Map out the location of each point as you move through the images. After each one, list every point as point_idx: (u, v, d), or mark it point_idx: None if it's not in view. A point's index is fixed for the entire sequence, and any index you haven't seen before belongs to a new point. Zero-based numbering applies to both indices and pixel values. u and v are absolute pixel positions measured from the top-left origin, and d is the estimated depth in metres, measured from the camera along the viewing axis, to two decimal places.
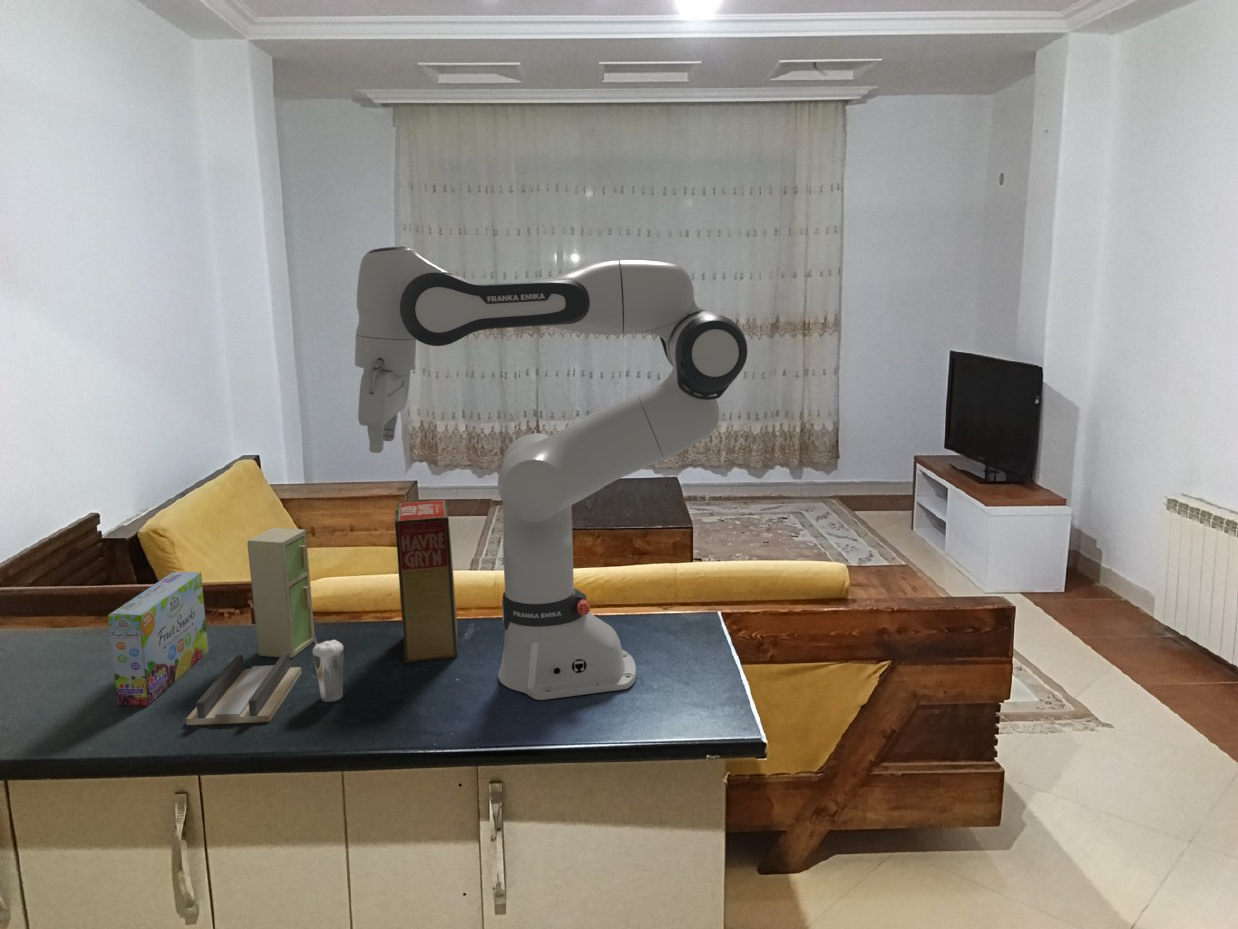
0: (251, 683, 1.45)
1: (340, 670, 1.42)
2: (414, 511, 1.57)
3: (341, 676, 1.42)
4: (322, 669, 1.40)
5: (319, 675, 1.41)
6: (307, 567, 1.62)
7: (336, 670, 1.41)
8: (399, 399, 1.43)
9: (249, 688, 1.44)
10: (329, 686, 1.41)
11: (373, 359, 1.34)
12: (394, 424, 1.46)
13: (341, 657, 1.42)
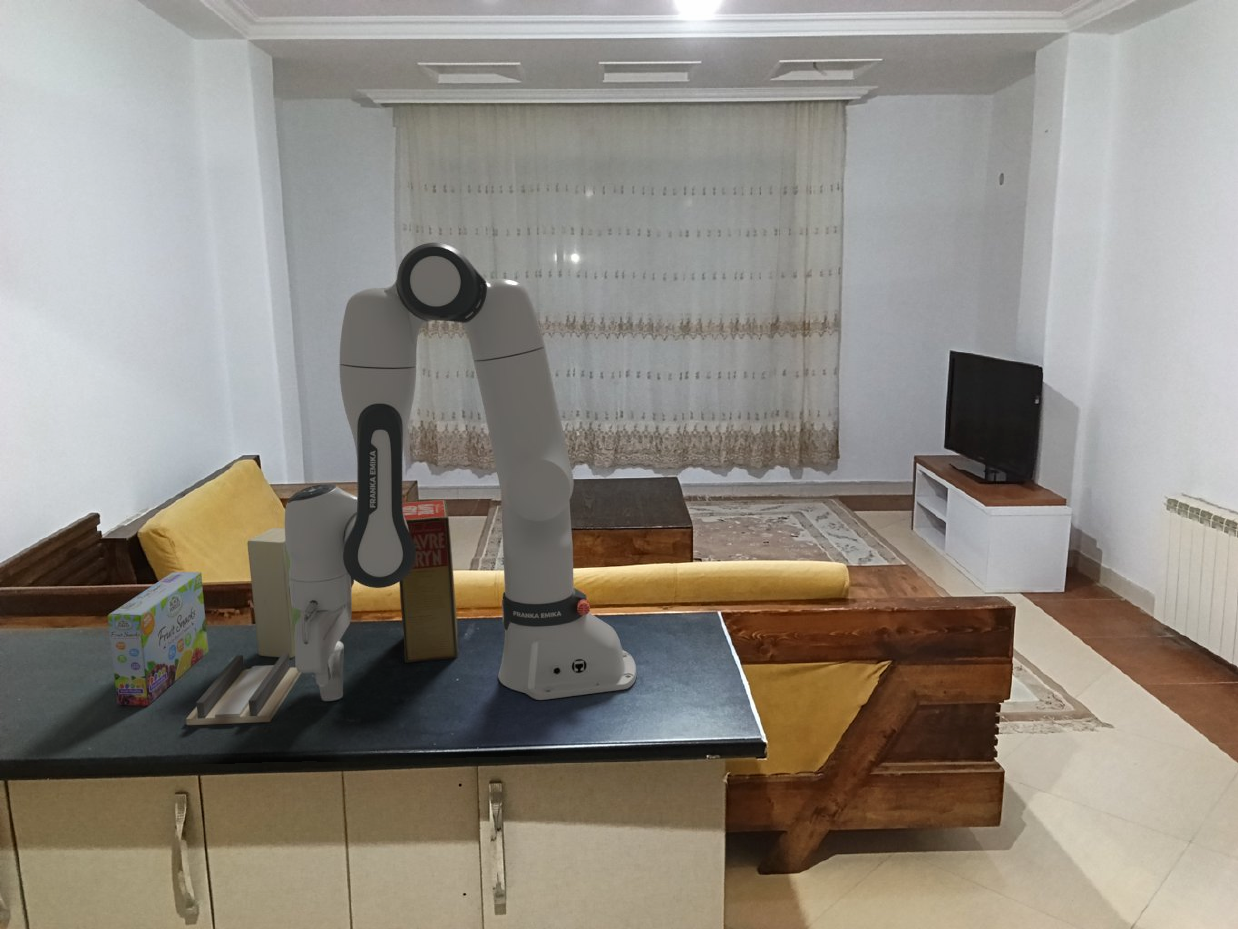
0: (251, 683, 1.45)
1: (340, 669, 1.42)
2: (414, 511, 1.57)
3: (341, 675, 1.43)
4: None
5: None
6: None
7: (337, 669, 1.41)
8: (341, 625, 1.44)
9: (249, 688, 1.44)
10: (329, 685, 1.41)
11: (307, 602, 1.36)
12: None
13: (341, 656, 1.42)
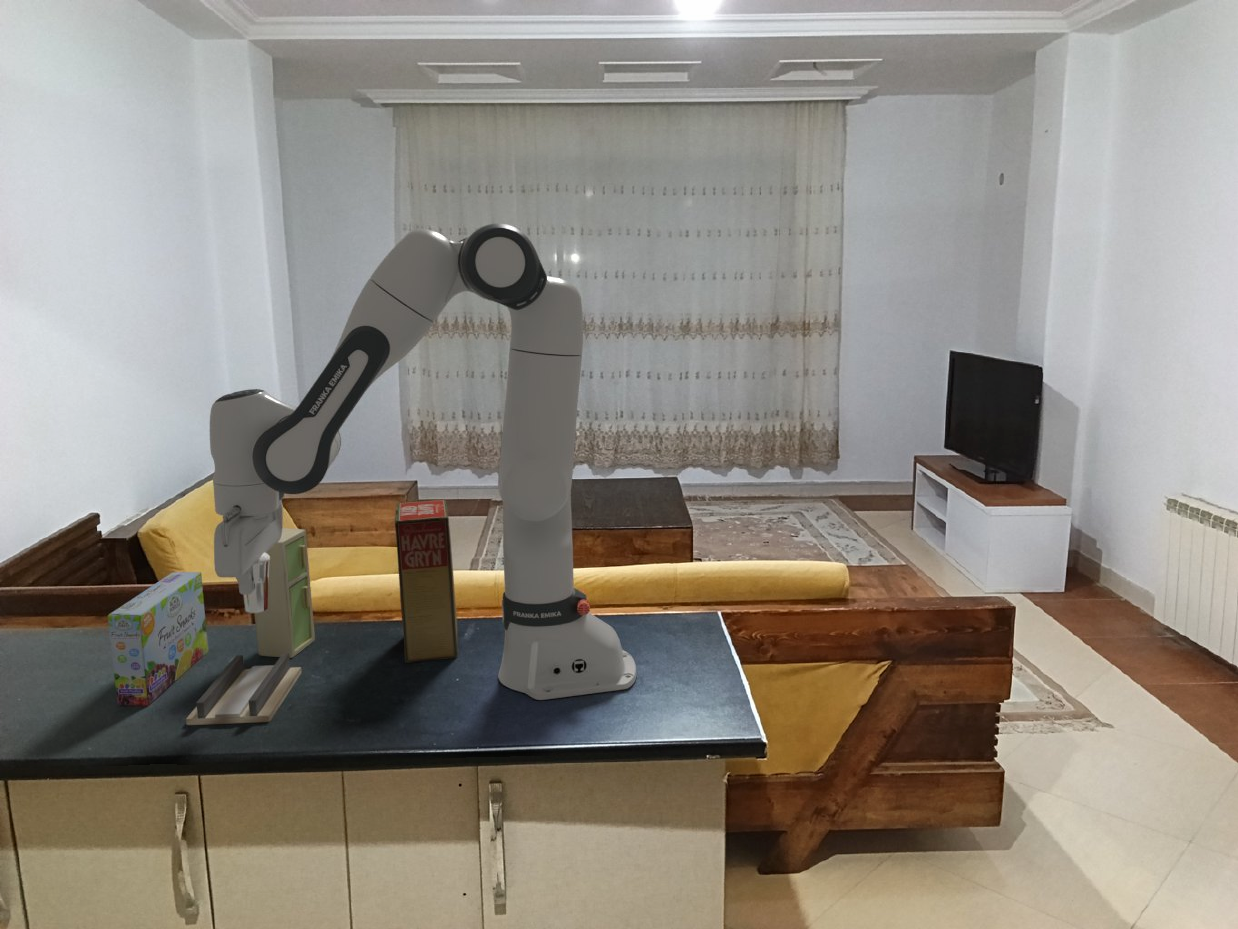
0: (251, 683, 1.45)
1: (265, 581, 1.39)
2: (414, 511, 1.57)
3: (266, 587, 1.40)
4: None
5: None
6: (307, 567, 1.62)
7: (261, 580, 1.38)
8: (268, 537, 1.41)
9: (249, 688, 1.44)
10: (253, 596, 1.38)
11: (230, 507, 1.33)
12: None
13: (267, 567, 1.39)
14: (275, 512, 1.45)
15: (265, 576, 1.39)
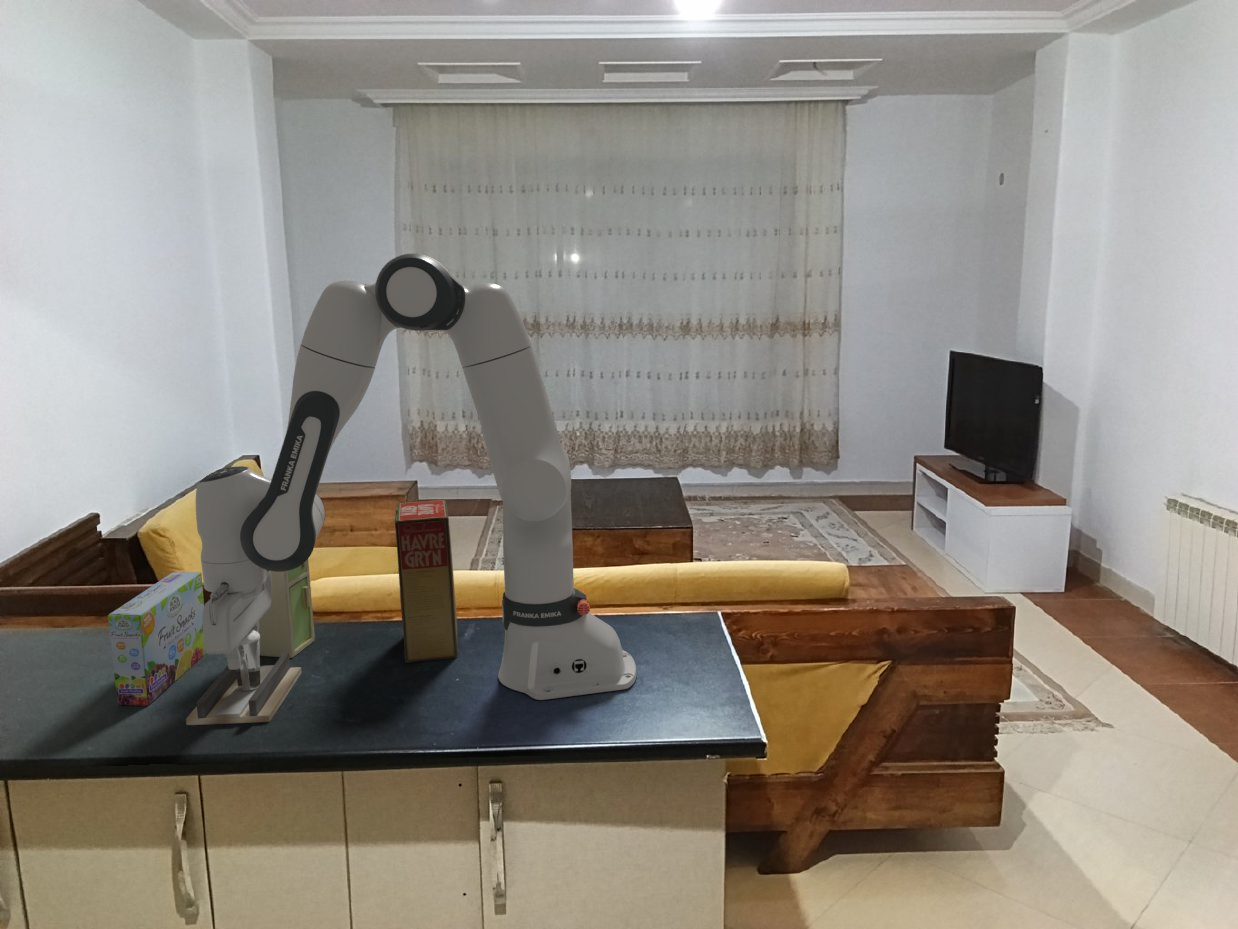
0: None
1: (257, 659, 1.43)
2: (414, 511, 1.57)
3: (258, 665, 1.43)
4: None
5: None
6: (307, 567, 1.62)
7: (253, 659, 1.42)
8: (257, 608, 1.44)
9: None
10: (246, 675, 1.42)
11: (218, 584, 1.35)
12: None
13: (257, 646, 1.42)
14: (264, 582, 1.48)
15: (256, 654, 1.42)
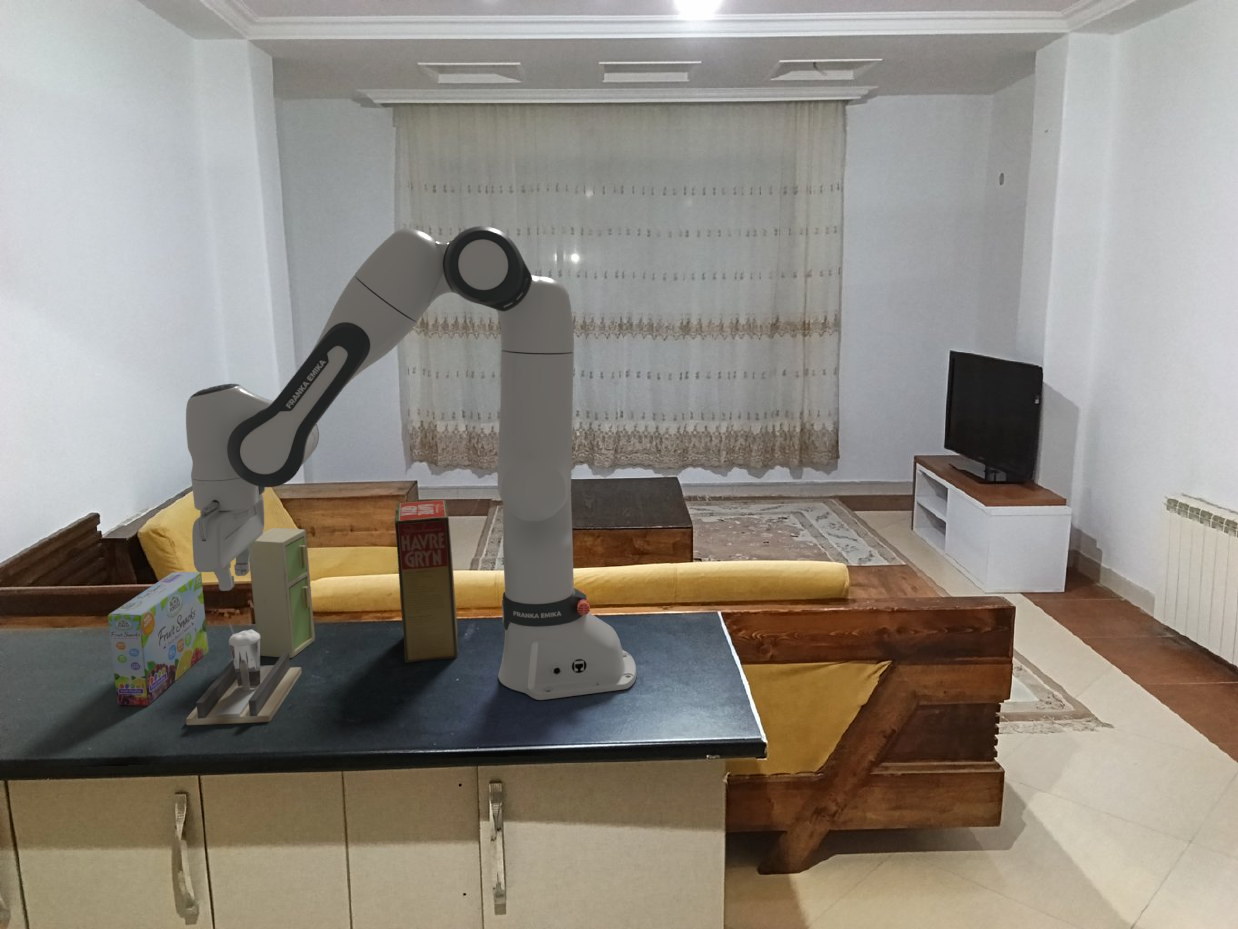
0: None
1: (257, 659, 1.43)
2: (414, 511, 1.57)
3: (258, 665, 1.43)
4: (238, 658, 1.41)
5: (235, 665, 1.42)
6: (307, 567, 1.62)
7: (253, 660, 1.42)
8: (249, 531, 1.42)
9: None
10: (246, 675, 1.42)
11: (208, 501, 1.33)
12: (247, 557, 1.43)
13: (258, 646, 1.42)
14: (256, 507, 1.45)
15: (256, 655, 1.42)
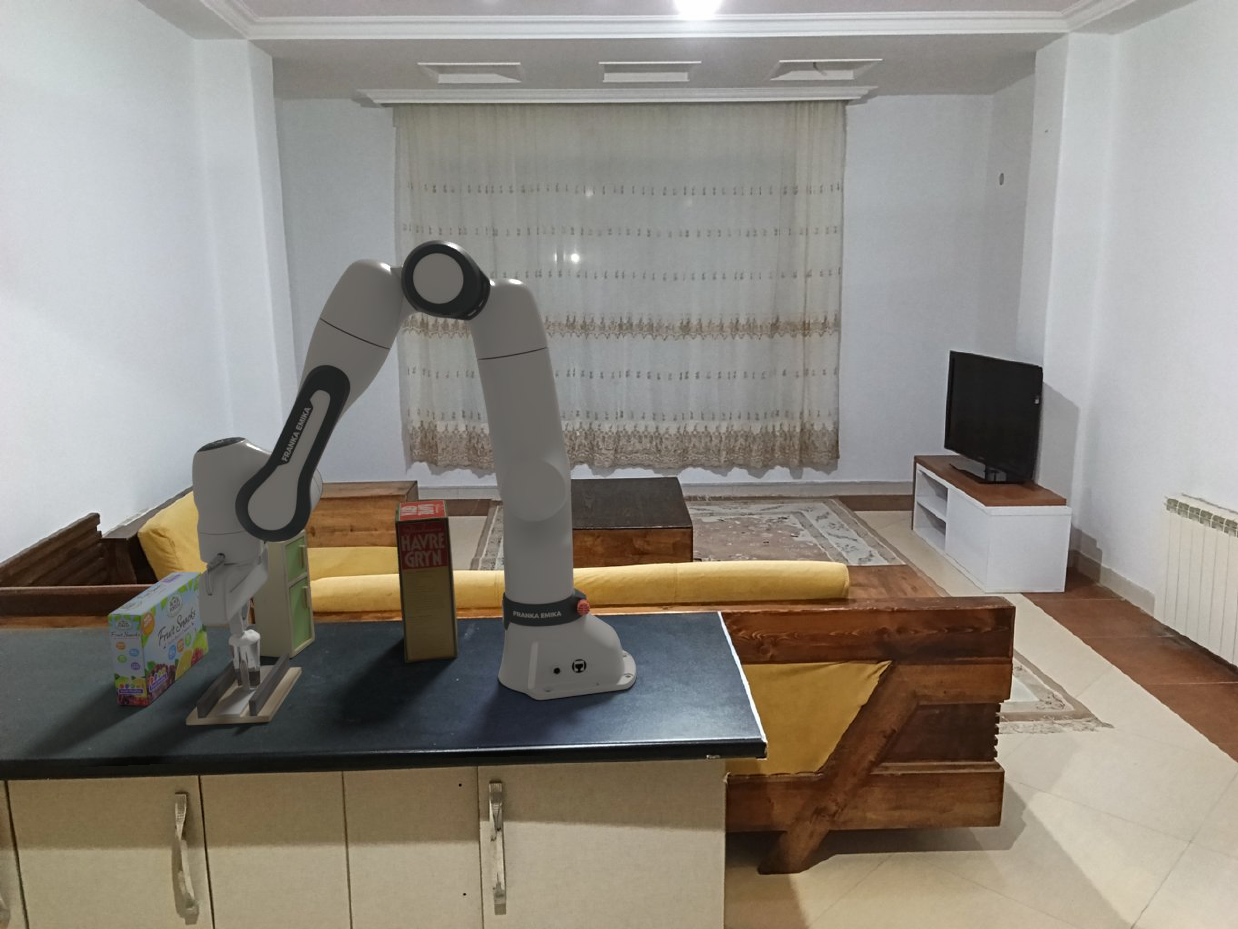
0: None
1: (257, 659, 1.43)
2: (414, 511, 1.57)
3: (258, 665, 1.43)
4: (238, 659, 1.41)
5: (235, 665, 1.42)
6: (307, 567, 1.62)
7: (253, 660, 1.42)
8: (254, 581, 1.43)
9: None
10: (246, 675, 1.42)
11: (214, 554, 1.34)
12: (246, 612, 1.42)
13: (258, 646, 1.42)
14: (261, 555, 1.47)
15: (256, 655, 1.42)
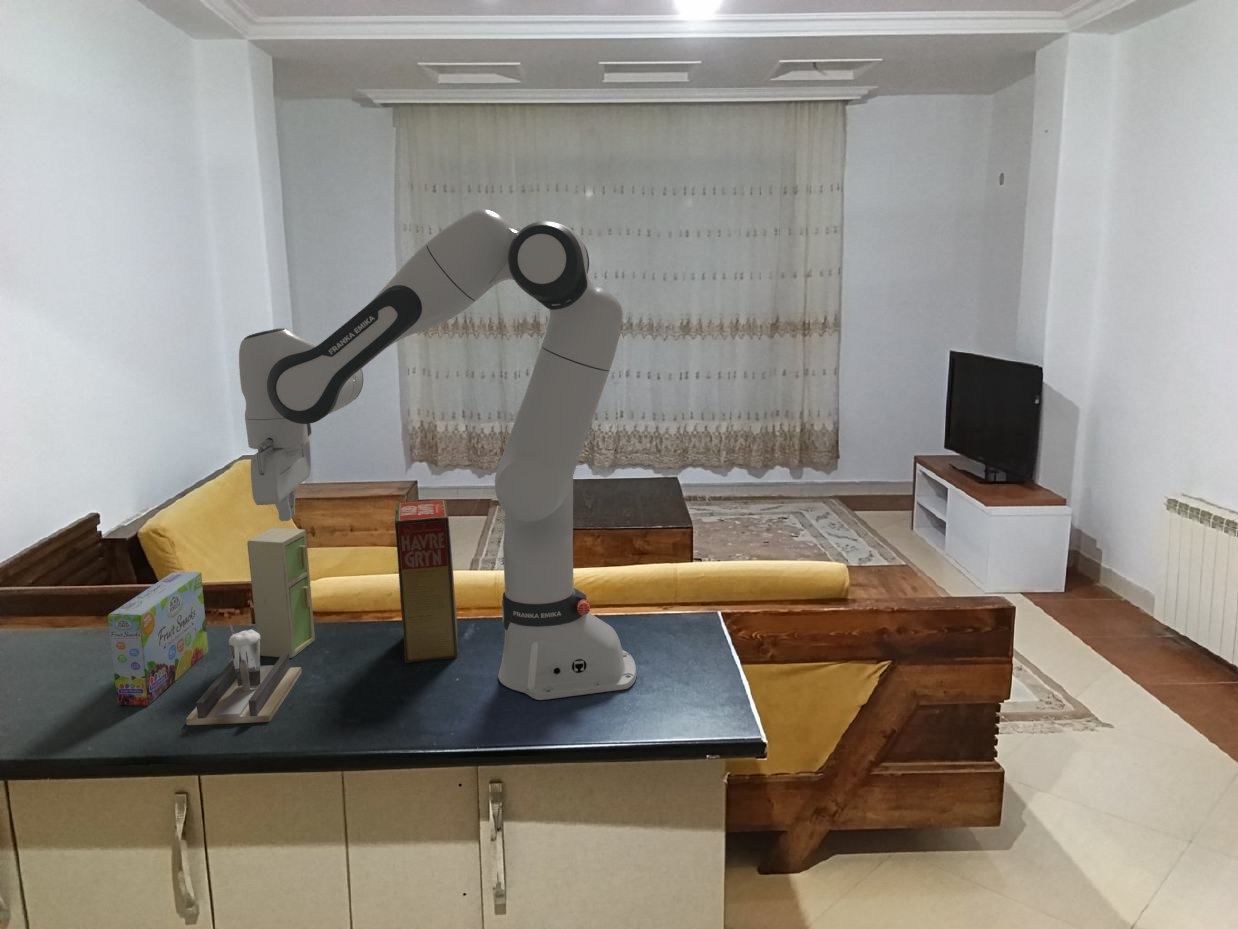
0: None
1: (257, 659, 1.43)
2: (414, 511, 1.57)
3: (258, 665, 1.43)
4: (238, 658, 1.41)
5: (235, 665, 1.42)
6: (307, 567, 1.62)
7: (253, 660, 1.42)
8: (299, 471, 1.49)
9: None
10: (246, 675, 1.42)
11: (263, 440, 1.40)
12: (293, 501, 1.48)
13: (258, 646, 1.42)
14: (303, 449, 1.52)
15: (256, 655, 1.42)
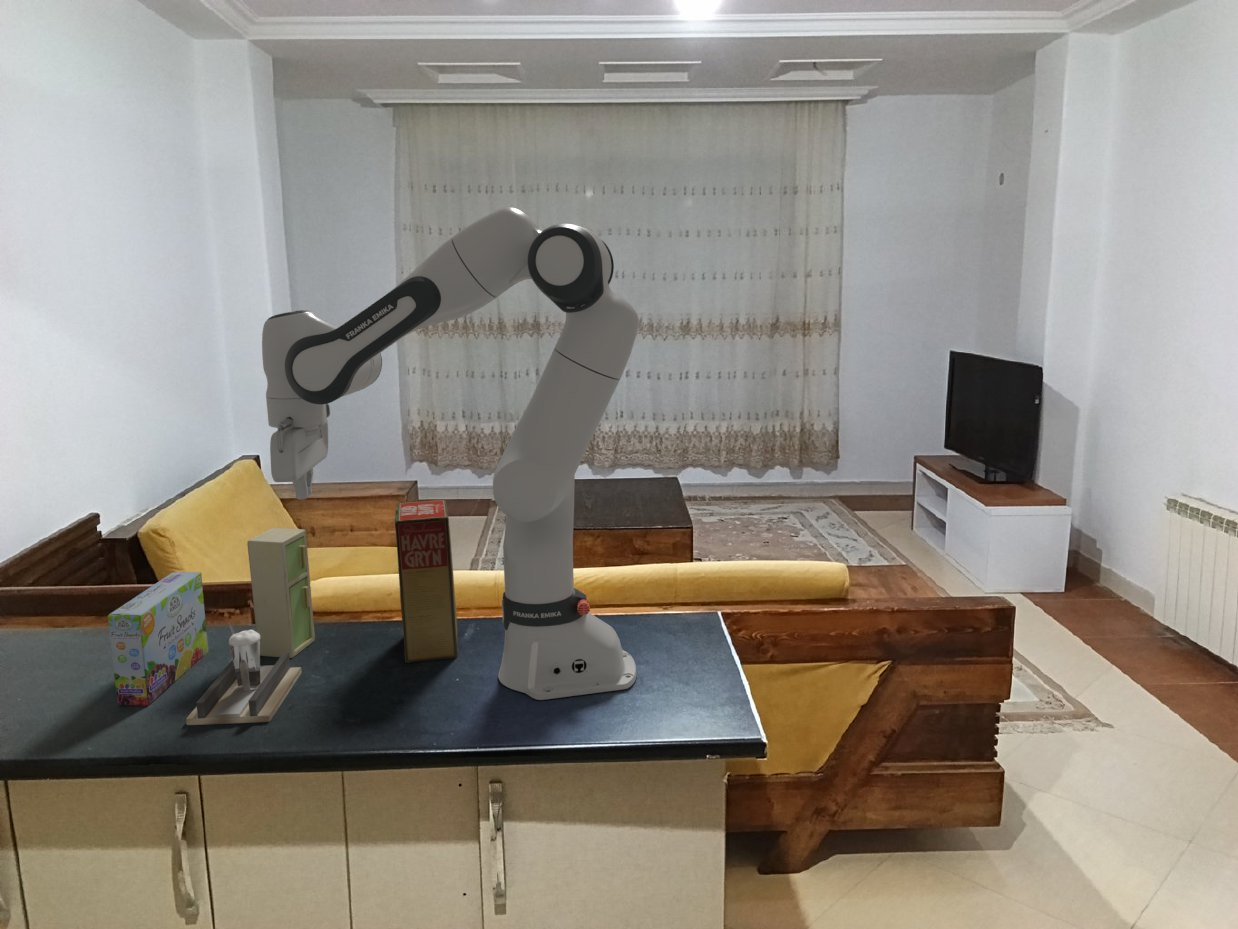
0: None
1: (257, 659, 1.43)
2: (414, 511, 1.57)
3: (258, 665, 1.43)
4: (238, 658, 1.41)
5: (235, 665, 1.42)
6: (307, 567, 1.62)
7: (253, 660, 1.42)
8: (317, 451, 1.52)
9: None
10: (246, 675, 1.42)
11: (283, 418, 1.43)
12: (310, 480, 1.51)
13: (258, 646, 1.42)
14: (322, 430, 1.55)
15: (256, 655, 1.42)
